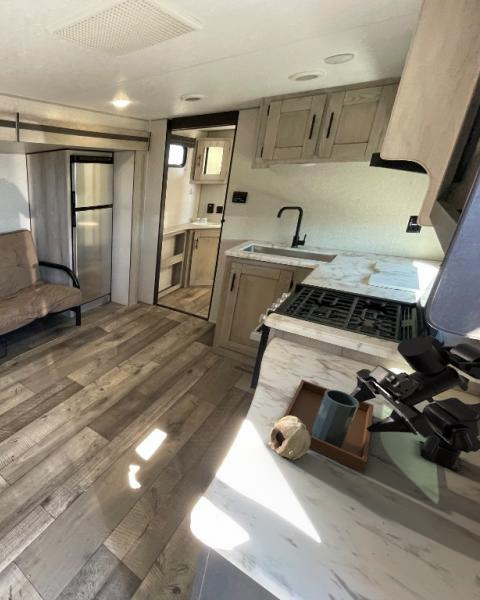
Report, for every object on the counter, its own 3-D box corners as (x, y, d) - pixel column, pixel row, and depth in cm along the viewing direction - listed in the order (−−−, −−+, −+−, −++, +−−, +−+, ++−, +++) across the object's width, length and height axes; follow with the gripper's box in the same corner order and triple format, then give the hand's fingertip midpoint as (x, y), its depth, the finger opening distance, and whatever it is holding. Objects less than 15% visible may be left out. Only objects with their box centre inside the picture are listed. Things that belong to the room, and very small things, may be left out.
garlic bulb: (273, 444, 85) (279, 407, 84) (312, 459, 78) (318, 419, 78) (261, 453, 78) (267, 413, 78) (302, 470, 72) (309, 427, 72)
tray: (299, 388, 104) (301, 379, 103) (369, 414, 93) (373, 404, 92) (277, 433, 85) (280, 423, 84) (362, 472, 74) (367, 462, 73)
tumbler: (326, 429, 86) (341, 388, 81) (348, 448, 80) (366, 405, 75) (304, 431, 85) (318, 390, 80) (325, 451, 79) (341, 408, 74)
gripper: (376, 340, 81) (316, 373, 86) (442, 384, 64) (361, 421, 69) (400, 370, 82) (340, 400, 88) (470, 421, 65) (389, 454, 71)
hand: (355, 416), depth 79 cm, fingers open, 9 cm apart
